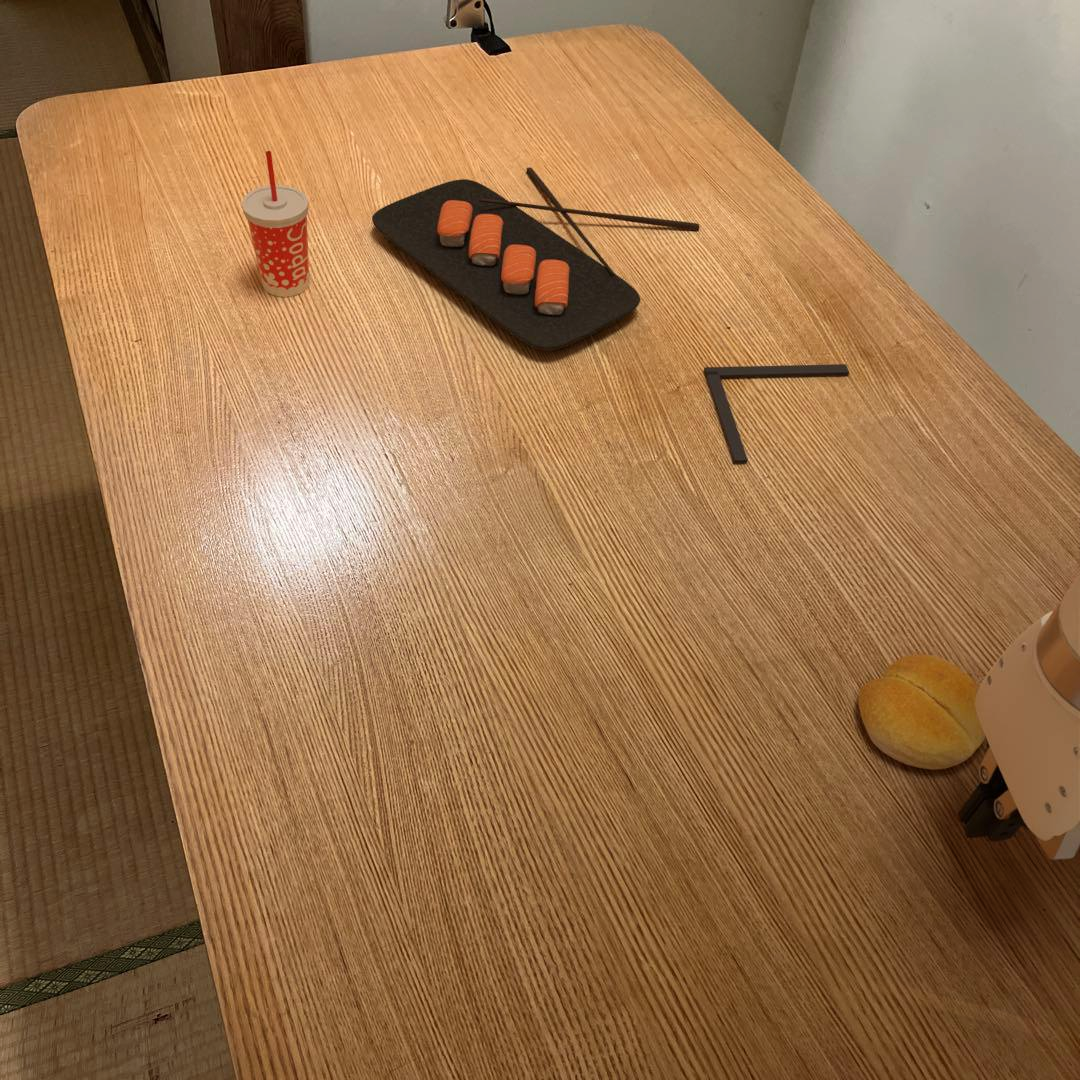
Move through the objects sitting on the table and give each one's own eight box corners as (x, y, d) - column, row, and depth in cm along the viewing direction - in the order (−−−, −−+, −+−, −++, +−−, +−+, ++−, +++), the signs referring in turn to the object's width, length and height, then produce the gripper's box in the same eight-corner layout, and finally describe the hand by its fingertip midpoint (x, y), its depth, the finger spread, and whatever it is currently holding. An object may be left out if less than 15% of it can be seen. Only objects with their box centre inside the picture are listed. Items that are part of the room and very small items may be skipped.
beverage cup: (272, 308, 104) (252, 176, 94) (243, 276, 107) (221, 145, 97) (328, 289, 107) (315, 158, 96) (299, 258, 110) (283, 129, 100)
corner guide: (844, 368, 104) (845, 363, 103) (886, 459, 96) (888, 455, 95) (703, 371, 102) (704, 366, 102) (733, 464, 94) (734, 460, 93)
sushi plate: (360, 230, 114) (358, 198, 111) (568, 147, 128) (571, 117, 125) (542, 372, 101) (545, 339, 98) (752, 261, 115) (759, 230, 112)
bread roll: (833, 715, 77) (849, 683, 74) (911, 655, 81) (929, 623, 78) (925, 799, 73) (945, 769, 70) (1002, 731, 77) (1025, 700, 74)
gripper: (1265, 783, 51) (1090, 935, 64) (1117, 545, 60) (993, 721, 74) (1117, 794, 50) (972, 946, 63) (992, 551, 60) (890, 728, 73)
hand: (984, 824), depth 69 cm, fingers closed
